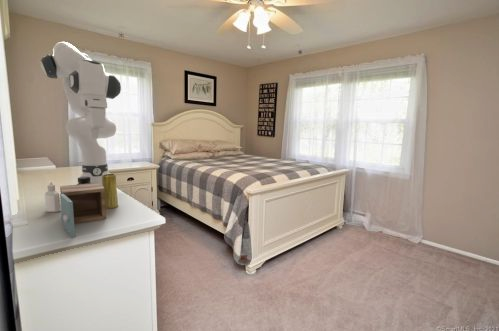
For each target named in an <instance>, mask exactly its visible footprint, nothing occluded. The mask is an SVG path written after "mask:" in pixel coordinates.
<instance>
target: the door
mask: <svg viewBox="0 0 499 331" xmlns="http://www.w3.org/2000/svg"><path fill="white" fill-rule="evenodd" d="M59 199H60V212H61V225H62V227H63V229H64V230H66V232H67V234H68V235H69V236H70V237H71V238H74V237H76V233H75V232H76V231H75V230H76V229H75V224H74V214H73V202H72V201H71V200H70V199H69V198H68V197H67V196H65V195H64V194H61V193H59Z"/></svg>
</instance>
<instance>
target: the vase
mask: <svg viewBox="0 0 499 331" xmlns="http://www.w3.org/2000/svg"><path fill="white" fill-rule="evenodd" d="M102 185H103V187H104V188H105V206H106V210H107V209H108V210H109V209H115V208H117V207H119V202H118V189H117V176H116V173H110V174H103V175H102Z"/></svg>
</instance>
